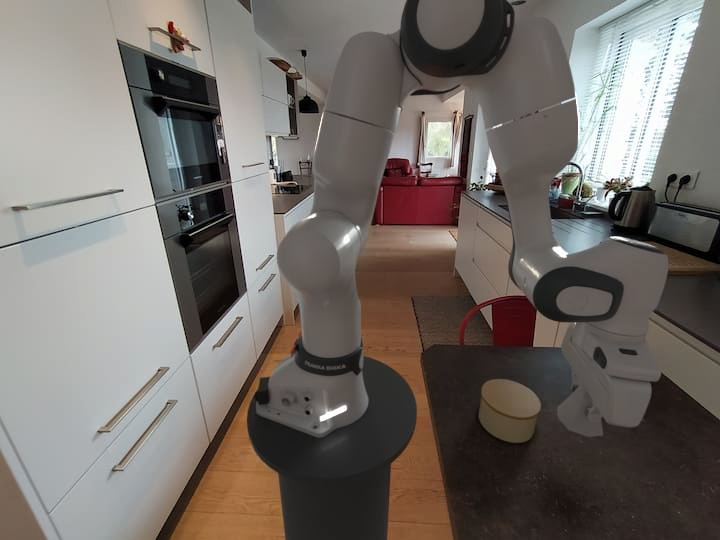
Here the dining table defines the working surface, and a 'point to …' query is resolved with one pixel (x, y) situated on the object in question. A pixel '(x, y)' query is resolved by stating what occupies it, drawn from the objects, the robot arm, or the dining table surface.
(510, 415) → the tea tin
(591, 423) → the flask
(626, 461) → the dining table surface
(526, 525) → the dining table surface
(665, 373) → the dining table surface
